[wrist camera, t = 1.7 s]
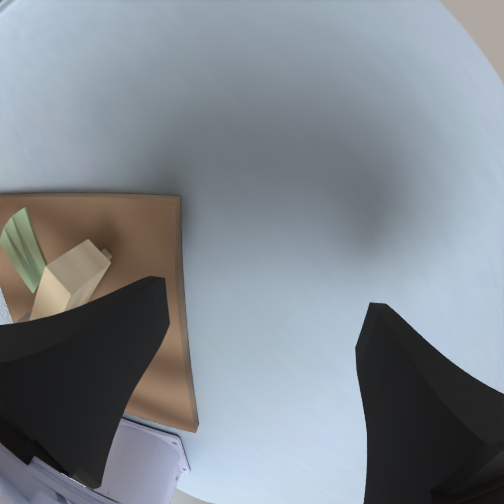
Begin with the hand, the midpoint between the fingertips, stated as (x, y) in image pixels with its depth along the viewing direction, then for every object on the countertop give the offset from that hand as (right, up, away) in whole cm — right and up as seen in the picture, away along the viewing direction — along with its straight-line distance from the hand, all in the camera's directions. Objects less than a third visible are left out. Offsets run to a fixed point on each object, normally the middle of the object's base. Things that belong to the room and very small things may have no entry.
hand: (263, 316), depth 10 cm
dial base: (-13, -3, +8) cm, 15 cm away
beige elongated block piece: (-11, -1, +5) cm, 12 cm away
